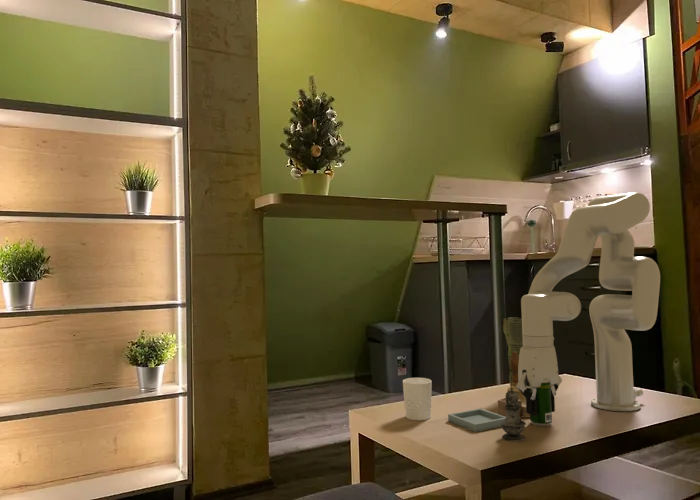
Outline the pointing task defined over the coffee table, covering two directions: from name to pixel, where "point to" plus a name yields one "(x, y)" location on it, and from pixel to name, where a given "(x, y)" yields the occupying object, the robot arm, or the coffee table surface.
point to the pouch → (513, 338)
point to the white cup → (417, 398)
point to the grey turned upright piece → (512, 418)
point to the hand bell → (515, 375)
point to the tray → (476, 419)
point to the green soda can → (543, 405)
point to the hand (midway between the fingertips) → (540, 411)
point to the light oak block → (524, 410)
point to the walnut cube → (503, 410)
